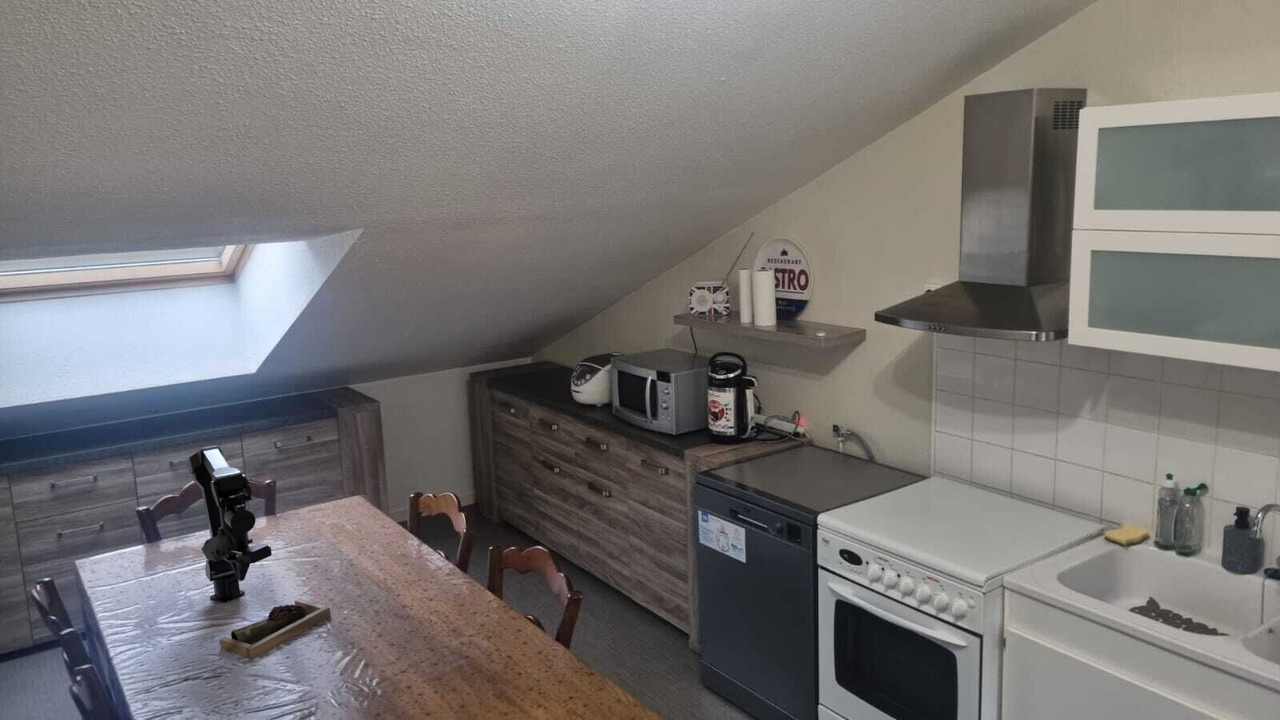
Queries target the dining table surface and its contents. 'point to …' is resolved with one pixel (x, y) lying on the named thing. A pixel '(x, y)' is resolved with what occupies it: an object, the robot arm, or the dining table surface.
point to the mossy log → (269, 624)
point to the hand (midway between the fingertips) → (241, 580)
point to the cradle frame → (252, 651)
